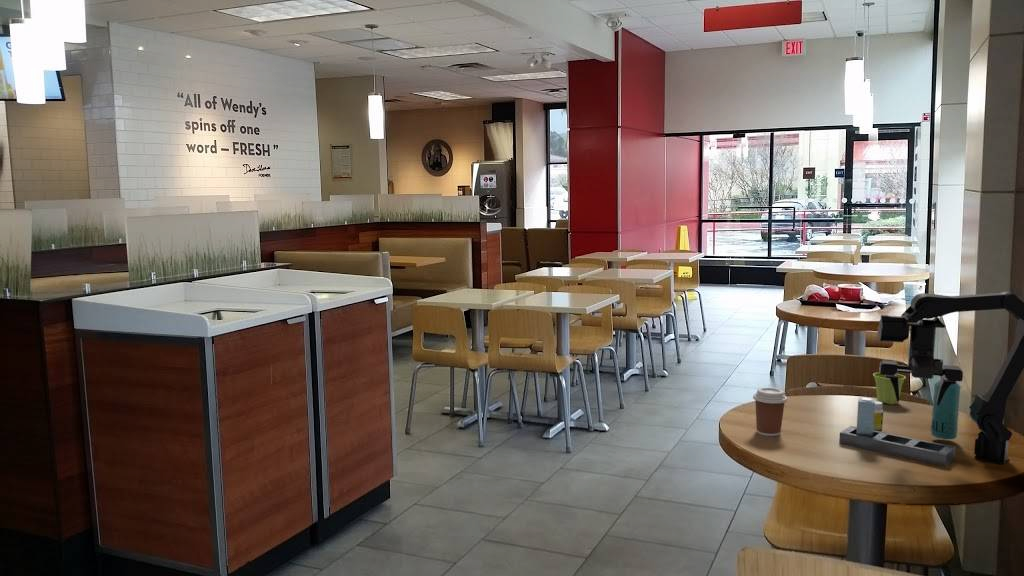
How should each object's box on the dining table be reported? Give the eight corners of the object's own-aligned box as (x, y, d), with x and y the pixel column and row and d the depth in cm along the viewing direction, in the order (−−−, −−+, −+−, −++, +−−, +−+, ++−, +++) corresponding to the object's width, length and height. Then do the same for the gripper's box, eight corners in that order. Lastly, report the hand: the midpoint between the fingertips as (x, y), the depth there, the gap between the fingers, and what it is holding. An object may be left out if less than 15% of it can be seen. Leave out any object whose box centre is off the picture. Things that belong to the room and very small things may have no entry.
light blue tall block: (871, 442, 219) (874, 398, 217) (872, 447, 215) (875, 401, 214) (855, 440, 220) (858, 396, 219) (855, 445, 217) (858, 400, 215)
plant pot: (865, 398, 263) (866, 372, 262) (891, 397, 265) (893, 371, 263) (883, 406, 254) (885, 379, 253) (910, 405, 255) (912, 378, 254)
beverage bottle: (957, 439, 222) (963, 367, 219) (956, 446, 216) (962, 372, 213) (930, 436, 225) (935, 364, 222) (928, 442, 219) (934, 369, 217)
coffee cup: (765, 425, 234) (767, 384, 232) (792, 433, 226) (794, 391, 225) (744, 431, 228) (746, 389, 227) (771, 439, 221) (773, 396, 219)
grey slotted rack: (954, 458, 207) (955, 446, 207) (945, 466, 201) (946, 454, 201) (850, 436, 224) (850, 425, 224) (839, 443, 218) (839, 432, 218)
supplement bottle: (883, 434, 226) (885, 405, 225) (865, 433, 227) (867, 404, 226) (879, 429, 231) (881, 400, 230) (861, 428, 232) (863, 399, 230)
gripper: (883, 346, 204) (878, 407, 206) (968, 352, 197) (962, 415, 199) (881, 338, 214) (877, 396, 216) (962, 344, 207) (957, 404, 209)
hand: (917, 403), depth 210 cm, fingers open, 9 cm apart
